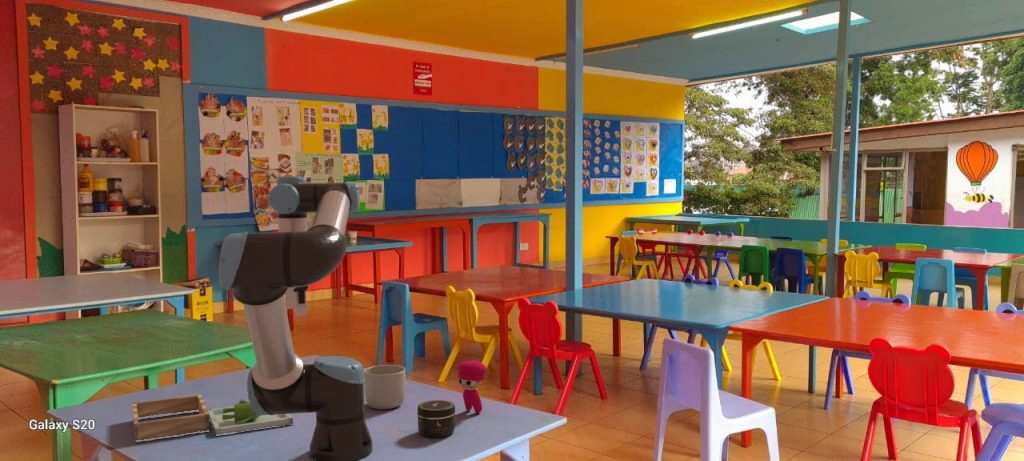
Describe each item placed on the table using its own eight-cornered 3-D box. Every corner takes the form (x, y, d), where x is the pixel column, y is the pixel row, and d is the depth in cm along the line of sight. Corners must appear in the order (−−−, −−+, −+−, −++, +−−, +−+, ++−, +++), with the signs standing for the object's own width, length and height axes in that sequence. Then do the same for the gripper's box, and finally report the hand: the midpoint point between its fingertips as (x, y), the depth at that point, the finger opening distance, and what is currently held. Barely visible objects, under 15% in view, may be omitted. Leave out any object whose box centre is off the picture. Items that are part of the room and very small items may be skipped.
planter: (357, 410, 222) (356, 373, 221) (374, 398, 234) (373, 363, 233) (396, 413, 219) (396, 375, 218) (412, 401, 231) (411, 365, 230)
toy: (452, 414, 217) (451, 362, 216) (467, 406, 224) (466, 356, 223) (478, 418, 213) (477, 365, 212) (492, 410, 220) (491, 359, 219)
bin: (209, 432, 204) (209, 413, 203) (135, 443, 195) (134, 424, 195) (201, 411, 223) (200, 394, 223) (133, 420, 215) (132, 403, 215)
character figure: (223, 393, 212) (268, 389, 216) (224, 407, 215) (268, 403, 218) (221, 421, 203) (268, 416, 206) (222, 436, 205) (268, 431, 208)
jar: (421, 441, 195) (420, 412, 194) (414, 429, 204) (414, 401, 204) (459, 437, 197) (458, 408, 197) (451, 425, 207) (450, 398, 206)
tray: (293, 425, 209) (293, 417, 209) (215, 436, 200) (215, 429, 200) (279, 406, 227) (279, 400, 227) (207, 416, 217) (207, 409, 217)
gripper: (318, 235, 194) (320, 317, 196) (297, 231, 216) (299, 304, 218) (288, 237, 191) (291, 320, 192) (270, 232, 213) (272, 307, 214)
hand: (295, 312), depth 205 cm, fingers open, 13 cm apart
